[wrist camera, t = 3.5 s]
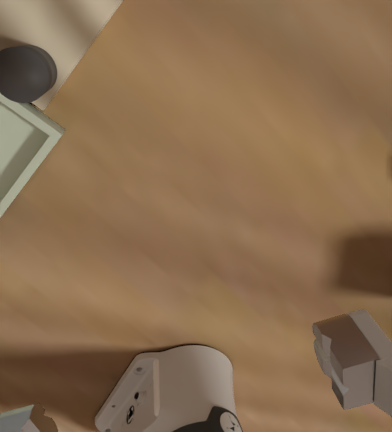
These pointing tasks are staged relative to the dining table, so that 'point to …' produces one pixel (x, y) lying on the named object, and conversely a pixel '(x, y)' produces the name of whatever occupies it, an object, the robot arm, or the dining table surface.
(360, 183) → the dining table surface
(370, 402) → the robot arm
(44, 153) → the tray
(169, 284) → the dining table surface
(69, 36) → the spacer board
